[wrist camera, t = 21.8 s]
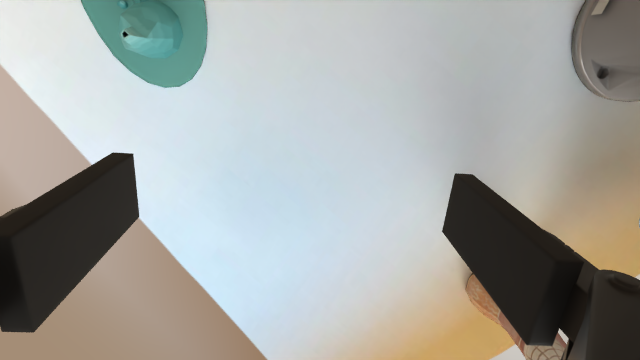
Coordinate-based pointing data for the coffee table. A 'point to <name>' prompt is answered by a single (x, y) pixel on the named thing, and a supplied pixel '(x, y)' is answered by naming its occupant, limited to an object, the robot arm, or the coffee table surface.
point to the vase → (536, 356)
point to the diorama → (153, 36)
